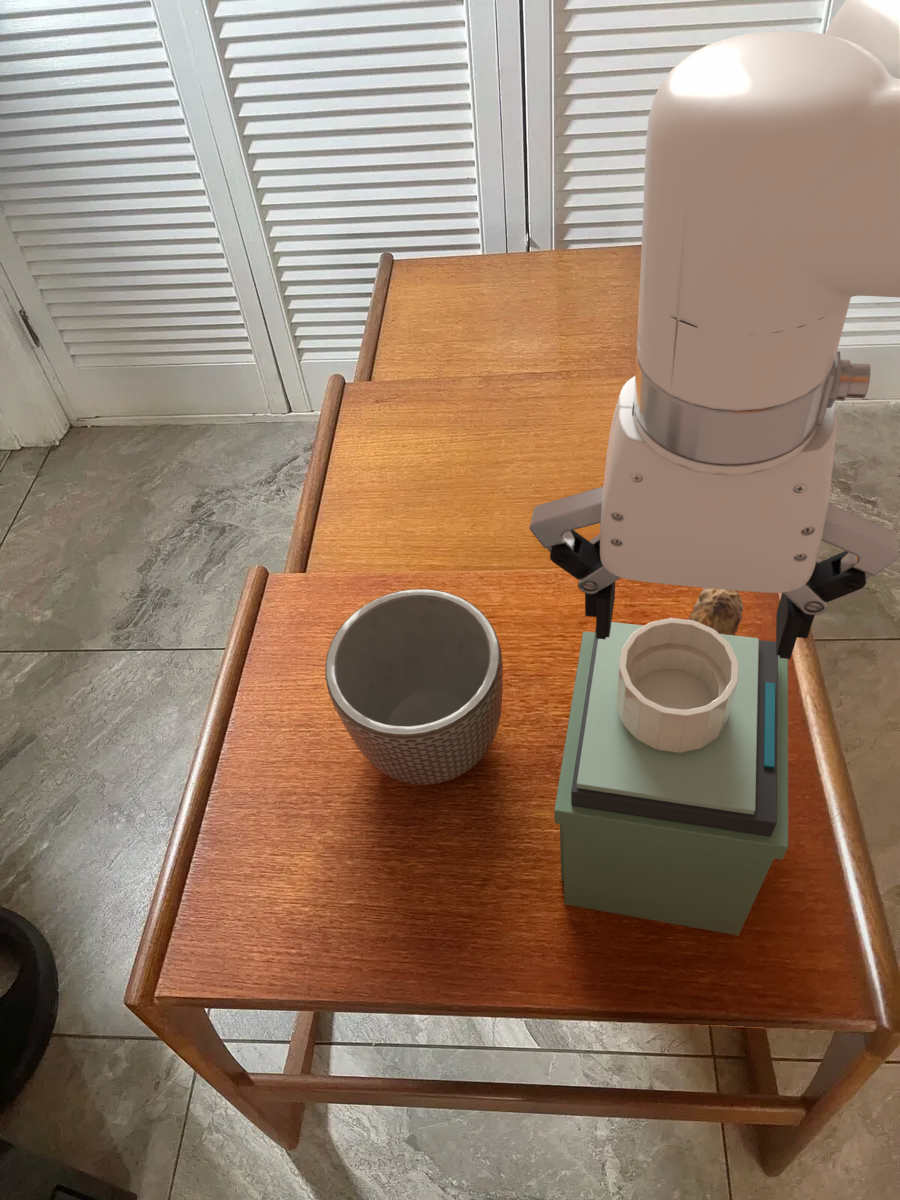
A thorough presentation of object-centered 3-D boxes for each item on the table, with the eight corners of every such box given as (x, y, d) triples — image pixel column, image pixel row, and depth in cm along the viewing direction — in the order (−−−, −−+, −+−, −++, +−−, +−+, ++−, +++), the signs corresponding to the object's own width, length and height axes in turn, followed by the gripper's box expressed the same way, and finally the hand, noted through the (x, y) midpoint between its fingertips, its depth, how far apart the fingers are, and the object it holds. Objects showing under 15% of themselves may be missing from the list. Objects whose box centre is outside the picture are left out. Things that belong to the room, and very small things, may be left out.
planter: (338, 701, 84) (306, 618, 73) (480, 653, 85) (467, 566, 75) (378, 834, 75) (347, 762, 65) (534, 779, 77) (528, 699, 66)
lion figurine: (707, 622, 84) (720, 560, 77) (747, 661, 81) (763, 600, 74) (578, 698, 81) (579, 641, 74) (615, 742, 78) (619, 687, 71)
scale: (772, 658, 62) (779, 636, 60) (771, 837, 54) (778, 819, 52) (596, 638, 64) (596, 616, 62) (571, 806, 57) (571, 787, 55)
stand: (750, 768, 75) (788, 654, 62) (745, 937, 67) (788, 847, 54) (581, 744, 78) (583, 630, 65) (557, 903, 70) (554, 810, 57)
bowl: (729, 670, 58) (740, 624, 55) (724, 763, 55) (736, 722, 51) (622, 657, 60) (626, 612, 56) (611, 747, 56) (613, 706, 52)
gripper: (949, 334, 37) (855, 589, 51) (533, 323, 41) (548, 562, 55) (971, 463, 33) (861, 704, 46) (504, 437, 37) (528, 666, 50)
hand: (692, 627), depth 50 cm, fingers open, 9 cm apart
